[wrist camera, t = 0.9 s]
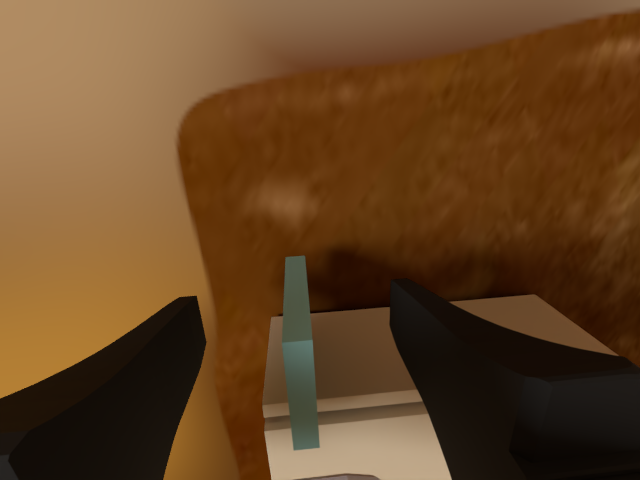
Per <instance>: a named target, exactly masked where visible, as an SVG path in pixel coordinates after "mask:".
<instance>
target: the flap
mask: <svg viewBox="0 0 640 480" xmlns="http://www.w3.org/2000/svg"><path fill="white" fill-rule="evenodd" d="M450 303H452V304H454V305H456V306H457V307H459V308H461V309H463V310H465V311H468V312H470V313H472V314H474V315H476V316H478V317H480V318H483V319H485V320H488V321H490V322H493V323H495V324H497V325H500V326H503V327H505V328H508V329H511V330H514V331H517V332H520V333H523V334H526V335H529V336H532V337H536V338H539V339H543V340H546V341H550V342H554V343H558V344H562V345H566V346H570V347H574V348H579V349H584V350H589V351H595V352H600V353H605V354H611V355H616V356H619V355H617V354H616V353H614V352H613V351H612V350H610V349H609V348H608V347H606V346H605V345H603V344H602V343H601V342H599V341H598V340H597V339H595V338H594V337H593V336H591V335H590V334H588V333H587V332H586V331H584V330H583V329H582V328H580V327H579V326H578V325H576V324H575V323H573V322H572V321H571V320H569V319H568V318H567V317H565V316H564V315H563V314H561V313H560V312H558V311H557V310H556V309H554V308H553V307H552V306H550V305H549V304H548V303H546V302H545V301H543V300H542V299H541V298H539V297H538V296H537V295H535V294H534V295H522V296H511V297H499V298H487V299H476V300H464V301H453V302H450ZM389 320H390V307H383V308H371V309H360V310H348V311H337V312H325V313H313V314H310V307H309V296H308V285H307V274H306V263H305V256H294V257H286V262H285V284H284V305H283V316H279V317H271V326H270V335H269V345H268V355H267V364H266V374H265V384H264V393H263V403H262V407H263V414H264V418H266V417H276V416H285V415H290V422H291V432H292V441H293V450H294V451H295V450H304V449H313V448H320V443H319V428H318V413H317V412H324V411H333V410H343V409H353V408H362V407H372V406H382V405H391V404H401V403H410V402H420V401H422V398H421V396H420V394H419V392H418V390H417V388H416V386H415V384H414V382H413V380H412V378H411V376H410V374H409V372H408V370H407V368H406V366H405V364H404V362H403V360H402V358H401V356H400V354H399V352H398V350H397V347H396V344H395V341H394V339H393V335H392V332H391V329H390V326H389Z"/></svg>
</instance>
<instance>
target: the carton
mask: <svg viewBox="0 0 640 480" xmlns="http://www.w3.org/2000/svg"><path fill="white" fill-rule="evenodd" d="M317 413H318V428H319V443H320V448H313V449H304V450H295V451H294V450H293V441H292V432H291V422H290V415H285V416H276V417H266V418H265V430H264V432H265V439H266V445H267V452H268V459H269V465H270V472H271V478H272V480H293V479H302V478H310V477H319V476H327V475H336V474H344V473H350V474H365V475H374V476H376V477H377V478H379V479H381V480H452V479H451V476H450V473H449V470H448V467H447V464H446V461H445V458H444V456H443V453H442V450H441V447H440V444H439V441H438V439H437V436H436V433H435V431H434V428H433V425H432V422H431V420H430V417H429V414H428V412H427V410H426V407H425V405H424V403H423V401H420V402H410V403H401V404H391V405H382V406H372V407H362V408H353V409H343V410H333V411H324V412H317Z"/></svg>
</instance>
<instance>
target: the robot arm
mask: <svg viewBox="0 0 640 480" xmlns="http://www.w3.org/2000/svg"><path fill="white" fill-rule="evenodd" d="M389 326H390V329H391V332H392V335H393V339H394V341H395V344H396V347H397V350H398V352H399V354H400V356H401V358H402V360H403V362H404V364H405V366H406V368H407V370H408V372H409V374H410V376H411V378H412V380H413V382H414V384H415V386H416V388H417V390H418V392H419V394H420V396H421V398H422V401H423V403H424V405H425V407H426V410H427V412H428V414H429V417H430V420H431V422H432V425H433V428H434V431H435V433H436V436H437V439H438V441H439V444H440V447H441V450H442V453H443V456H444V458H445V461H446V464H447V467H448V470H449V473H450V476H451V479H452V480H640V368H639V367H638V366H636V365H635V364H634V363H632V362H631V361H630V360H628V359H627V358H625V357H621V356H616V355H611V354H605V353H600V352H595V351H589V350H584V349H579V348H574V347H570V346H566V345H562V344H558V343H554V342H550V341H546V340H543V339H539V338H536V337H532V336H529V335H526V334H523V333H520V332H517V331H514V330H511V329H508V328H505V327H503V326H500V325H497V324H495V323H493V322H490V321H488V320H485V319H483V318H480V317H478V316H476V315H474V314H472V313H470V312H468V311H465V310H463V309H461V308H459V307H457V306H456V305H454V304H452V303H450V302H448V301H446V300H444V299H443V298H441V297H439V296H437V295H436V294H434V293H432V292H430V291H429V290H427V289H425V288H424V287H422V286H420V285H418V284H417V283H415V282H413V281H411V280H409V279H407V278H406V279H394V280H391V291H390V320H389ZM205 346H206V338H205V334H204V328H203V324H202V319H201V314H200V310H199V305H198V301H197V296H188V297H179V298H177V299H176V300H174V301H172V302H171V303H169V304H168V305H167V306H165V307H164V308H162V309H161V310H160V311H158V312H157V313H156V314H154V315H153V316H151V317H150V318H148V319H147V320H146V321H144V322H143V323H141V324H140V325H139V326H137V327H136V328H134V329H133V330H131V331H130V332H128V333H127V334H125V335H124V336H122V337H121V338H119V339H118V340H116V341H115V342H113V343H111V344H110V345H108V346H107V347H105V348H103V349H102V350H100V351H98V352H97V353H95V354H93V355H91V356H89V357H88V358H86V359H84V360H82V361H81V362H79V363H77V364H75V365H73V366H71V367H69V368H67V369H65V370H63V371H61V372H59V373H57V374H55V375H53V376H50V377H48V378H46V379H45V380H42V381H40V382H38V383H36V384H34V385H31V386H29V387H27V388H24V389H22V390H20V391H17V392H15V393H13V394H10V395H8V396H5V397H3V398H1V399H0V480H163V478H164V474H165V469H166V466H167V462H168V459H169V455H170V451H171V448H172V444H173V440H174V437H175V434H176V431H177V428H178V425H179V423H180V420H181V418H182V415H183V412H184V410H185V407H186V404H187V402H188V399H189V397H190V394H191V392H192V389H193V386H194V384H195V381H196V378H197V376H198V373H199V370H200V368H201V364H202V359H203V356H204V350H205ZM293 480H381V479H379V478H377V477H376V476H374V475H365V474H350V473H344V474H336V475H327V476H319V477H310V478H302V479H293Z"/></svg>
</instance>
